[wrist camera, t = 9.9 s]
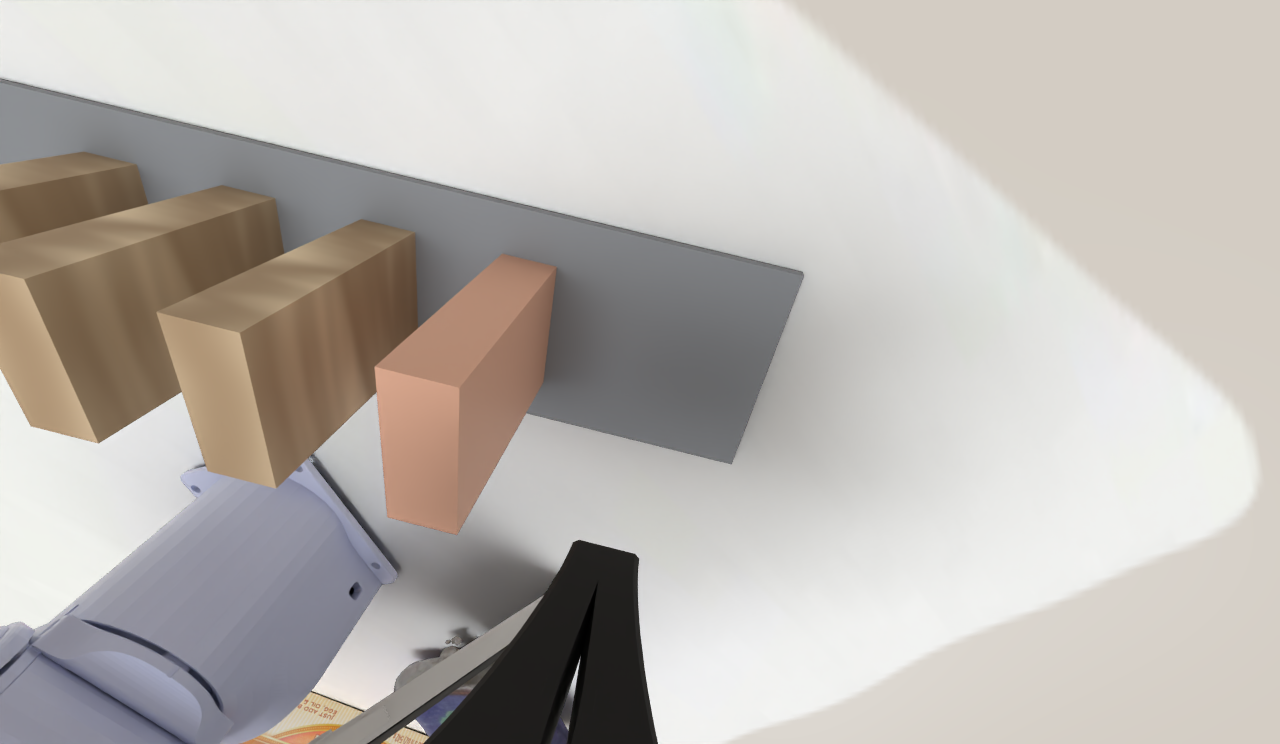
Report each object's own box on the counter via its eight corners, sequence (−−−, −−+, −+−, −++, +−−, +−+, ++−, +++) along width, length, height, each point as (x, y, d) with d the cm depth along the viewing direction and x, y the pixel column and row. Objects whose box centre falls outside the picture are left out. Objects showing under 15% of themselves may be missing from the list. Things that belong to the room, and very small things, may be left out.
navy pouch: (449, 779, 35) (368, 676, 31) (469, 732, 38) (396, 631, 34) (576, 785, 33) (506, 673, 28) (588, 734, 35) (526, 625, 31)
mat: (802, 271, 18) (803, 276, 18) (731, 458, 23) (731, 464, 22) (-130, 47, 19) (-146, 47, 18) (-20, 271, 23) (-31, 274, 23)
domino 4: (556, 266, 19) (459, 387, 12) (543, 382, 22) (457, 534, 15) (502, 253, 19) (374, 366, 12) (495, 370, 22) (387, 517, 15)
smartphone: (506, 653, 32) (194, 878, 19) (496, 635, 32) (183, 844, 20) (580, 594, 28) (248, 828, 16) (568, 574, 28) (233, 787, 16)
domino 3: (415, 232, 19) (239, 332, 12) (418, 351, 22) (276, 488, 15) (360, 219, 19) (156, 312, 12) (371, 339, 22) (207, 471, 15)
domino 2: (275, 198, 19) (24, 279, 12) (295, 320, 22) (98, 443, 15) (221, 185, 19) (-58, 258, 12) (248, 309, 22) (30, 426, 15)
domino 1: (136, 164, 19) (-188, 226, 12) (173, 290, 22) (-77, 398, 15) (83, 151, 19) (-270, 206, 12) (127, 279, 22) (-144, 381, 15)
